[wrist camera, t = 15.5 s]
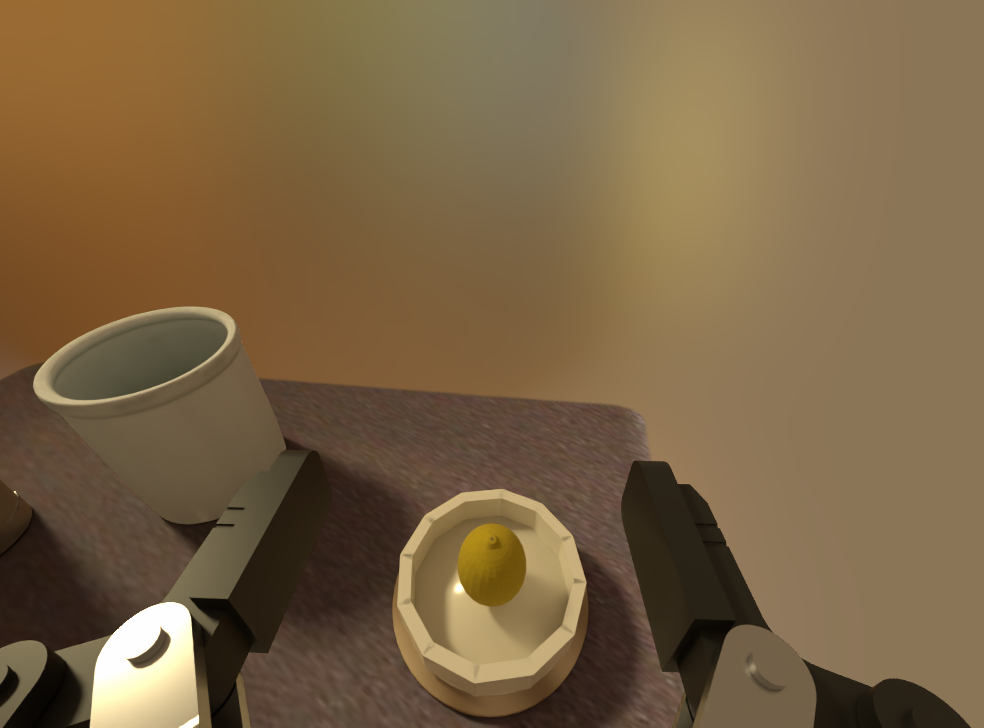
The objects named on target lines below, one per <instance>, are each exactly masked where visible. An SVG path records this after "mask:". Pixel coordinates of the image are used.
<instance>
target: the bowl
mask: <svg viewBox="0 0 984 728" xmlns="http://www.w3.org/2000/svg"><path fill="white" fill-rule="evenodd" d="M490 523H493V524H500V525H503V526H505V527H507V528H509V529H510V530H511V531H512V532H513V533H514V534H515V535H516V536H517V537H518V538H519V540H520V542H521V544H522V546H523V549H524V552H525V556H526V575H525V579H524V583H523V585H522V587H521V589H520V590H519V592H518V593H517V594H516V596H515V597H514V598H513V599H512V600H510V601H509V602H507V603H506V604H503V605H500V606H492V607H488V606H484V605H481V604H479V603H477V602H475V601H474V600H473V599H472V598H471V597H470V596H469V595H468V594H467V593H466V592H465V590H464V588H463V587H462V585H461V582H460V578H459V575H458V556H459V552H460V548H461V546H462V544H463V542H464V540H465V538H466V537H467V536H468V535H469V534H470V532H471V531H473V530H474V529H475V528H477V527H479V526H481V525H484V524H490ZM586 583H587V582H586V579H585V576H584V572H583V569H582V565H581V562H580V559H579V555H578V552H577V549H576V545H575V542H574V538H573V535H572V534H571V533H570V532H569V531H568V530H567V529H566V528H565V527H564V526H563V525H562V524H561V523H560V522H559V521H558V520H557V519H556V518H555V517H554V516H553V515H552V514H551V512H550V511H549V510H548V509H547V508H546V507H545V506H544V505H543V504H542V503H539V502H537V501H534V500H531V499H528V498H526V497H523V496H520V495H518V494H515V493H512V492H509V491H507V490H504V489H497V490H487V491H476V492H466V493H460V494H459V495H457V496H456V497H454V498H452V499H451V500H449V501H447V502H446V503H444V504H442V505H441V506H439V507H437V508H436V509H434V510H433V511H431V512H429V513H428V514H426V515H425V516H424V517H423V519H422V521H421V522H420V524H419V525H418V527H417V529H416V530H415V532H414V533H413V535H412V537H411V538H410V540H409V541H408V543H407V545H406V546H405V548H404V549H403V551H402V553H401V554H400V567H399V583H398V599H397V607H398V610H399V614H400V617H401V620H402V623H403V625H404V627H405V629H406V631H407V633H408V635H409V637H410V639H411V641H412V643H413V646H414V648H415V650H416V652H417V653H418V655H419V657H420V658H421V660H422V662H423V664H424V666H425V668H426V670H428V671H429V672H431V673H433V674H435V675H436V676H437V677H438V678H439V679H440V680H442V681H443V682H445V683H446V684H448V685H449V686H451V687H453V688H455V689H457V690H460V691H462V692H465V693H468V694H471V695H473V696H475V697H477V696H485V697H495V696H505V695H509V694H513V693H517V692H519V691H522V690H525V689H530V688H531V687H532V686H533V685H534V684H535V683H537V682H538V681H540V680H541V679H542V678H543V677H544V676H546V675H547V674H548V673H549V672H550V671H551V670H552V669H553V667H554V666H555V665H556V664H557V663H558V662H559V660H560V659H561V658H562V657H563V656H564V655H565V654H566V653H567V652H568V651H569V649H570V646H571V644H572V641H573V638H574V635H575V631H576V626H577V622H578V618H579V613H580V609H581V605H582V600H583V596H584V592H585V587H586Z"/></svg>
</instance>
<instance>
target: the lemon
mask: <svg viewBox="0 0 984 728" xmlns="http://www.w3.org/2000/svg"><path fill="white" fill-rule="evenodd" d="M458 575H459V578H460V582H461V585H462V587H463V588H464V590H465V592H466V593H467V594H468V595H469V596H470V597H471V598H472V599H473V600H474V601H475V602H477V603H479V604H481V605H484V606H488V607H492V606H500V605H503V604H506V603H507V602H509V601H510V600H512V599H513V598H514V597H515V596H516V594H517V593H518V592H519V590H520V589H521V587H522V585H523V583H524V579H525V575H526V556H525V552H524V549H523V546H522V544H521V542H520V540H519V538H518V537H517V536H516V535H515V534H514V533H513V532H512V531H511V530H510V529H509V528H507V527H505V526H503V525H500V524H493V523H490V524H484V525H481V526H479V527H477V528H475V529H474V530H473V531H471V532H470V534H469V535H468V536H467V537H466V538H465V540H464V542H463V544H462V546H461V548H460V552H459V556H458Z"/></svg>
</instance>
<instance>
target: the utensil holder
mask: <svg viewBox="0 0 984 728" xmlns="http://www.w3.org/2000/svg"><path fill="white" fill-rule="evenodd" d="M33 388H34V391H35V393H36V395H37V397H38V398H39V399H40V400H41V401H42V402H43V403H44V404H45V405H46V406H47V407H49V408H50V409H52V410H53V411H55V412H57V413H60V414H61V415H62V416H63V418H64V419H65V420H66V421H67V422H68V423H69V424H70V425H71V426H72V427H73V428H74V429H75V431H76V432H77V433H78V434H79V435H80V436H81V437H82V438H83V439H84V440H85V441H86V442H87V443H88V444H89V445H90V446H91V447H92V448H93V449H94V450H95V451H96V453H97V454H98V455H99V456H100V457H101V458H102V459H103V460H104V461H105V462H106V463H107V464H108V465H109V466H110V467H111V468H112V469H113V470H114V472H115V473H116V474H117V475H118V476H119V477H120V478H121V479H122V480H123V481H124V482H125V483H126V484H127V485H128V486H129V487H130V488H131V489H132V490H133V491H134V492H135V493H136V494H137V495H138V496H139V497H140V498H141V499H143V500H144V501H145V502H146V503H147V504H148V505H149V506H150V507H151V508H152V509H153V510H154V511H155V512H156V513H157V514H158V515H159V516H161V517H162V518H164V519H165V520H168V521H170V522H174V523H178V524H197V523H203V522H208V521H212V520H216V519H219V518H220V517H221V516H222V514H223V513H224V511H227V507H228V505H229V504H230V502H231V501H232V499H233V498H234V496H235V495H236V493H237V492H238V490H239V489H240V487H242V486H243V485H244V484H245V483H246V482H247V481H249V480H250V479H251V478H252V477H253V476H254V475H256V474H257V473H258V472H259V471H269V470H270V468H271V466H272V465H273V463H274V462H275V460H276V458H277V457H278V455H279V454H280V453H281V452H282V451H284V450H286V445H285V442H284V439H283V436H282V434H281V431H280V428H279V426H278V423H277V421H276V418H275V416H274V413H273V411H272V408H271V406H270V404H269V402H268V399H267V397H266V395H265V393H264V391H263V388H262V386H261V384H260V382H259V379H258V377H257V375H256V373H255V370H254V368H253V366H252V364H251V362H250V360H249V357H248V355H247V353H246V351H245V349H244V347H243V344H242V343H241V334H240V331H239V328H238V326H237V324H236V322H235V321H234V320H233V318H231V317H230V316H229V315H227V314H226V313H224V312H222V311H219V310H215V309H210V308H203V307H175V308H168V309H161V310H155V311H150V312H146V313H141V314H137V315H134V316H130V317H127V318H124V319H121V320H118V321H115V322H112V323H109V324H107V325H104V326H102V327H100V328H97V329H95V330H93V331H91V332H89V333H87V334H85V335H83V336H81V337H79V338H77V339H75V340H74V341H72V342H70V343H69V344H67V345H66V346H64V347H63V348H62V349H60V350H59V351H58V352H56V353H55V354H54V355H53V356H52V357H51V358H50V359H48V360H47V361H46V362H45V363H44V364H43V366H42V367H41V368H40V369H39V371H38V372H37V374H36V376H35V379H34V384H33Z"/></svg>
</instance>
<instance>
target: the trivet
mask: <svg viewBox="0 0 984 728" xmlns="http://www.w3.org/2000/svg"><path fill="white" fill-rule="evenodd" d="M398 583H399V573H398V576H397V580H396V584H395V587H394V595H393V624H394V631H395V635H396V639H397V643H398V646H399V649H400V651H401V654H402V656H403V659H404V661H405V663H406V665H407V666H408V668H409V670H410V672H411V673H412V675H413V676H414V677H415V679H416V680H417V681H418V683H419V684H420V685H421V686H422V687H423V688H424V689H425V690H426V691H427V692H428V693H429V694H430V695H431V696H432V697H434V698H435V699H436V700H438V701H439V702H441V703H442V704H444V705H445V706H447V707H450V708H452V709H454V710H456V711H458V712H461V713H465V714H468V715H472V716H478V717H488V718H491V717H505V716H509V715H513V714H517V713H520V712H523V711H525V710H527V709H530V708H532V707H534V706H535V705H537V704H539V703H540V702H542V701H543V700H545V699H546V698H547V697H549V696H550V695H551V694H552V693H553V692H554V691H555V690H556V689H558V687H559V686H560V685H561V684H562V683H563V681H564V680H565V679H566V678H567V676H568V675H569V673H570V671H571V670H572V668H573V666H574V665H575V663H576V660H577V658H578V656H579V654H580V651H581V649H582V646H583V642H584V639H585V635H586V631H587V624H588V595H587V589H586V587H585V592H584V596H583V600H582V605H581V609H580V613H579V618H578V622H577V626H576V631H575V635H574V638H573V641H572V644H571V646H570V649H569V651H568V652H567V653H566V654H565V655H564V656H563V657H562V658H561V659H560V660H559V662H558V663H557V664H556V665H555V666H554V667H553V669H552V670H551V671H550V672H549V673H548V674H547V675H546V676H544V677H543V678H542V679H541V680H540V681H538V682H537V683H535V684H534V685H533V686H532V687H531V688H530V689H525V690H522V691H519V692H517V693H513V694H509V695H505V696H495V697H485V696H477V697H475V696H473V695H471V694H468V693H465V692H462V691H460V690H457V689H455V688H453V687H451V686H449V685H448V684H446V683H445V682H443V681H442V680H440V679H439V678H438V677H437V676H436V675H435V674H433V673H431V672H429V671H428V670H426V668H425V666H424V664H423V662H422V660H421V658H420V657H419V655H418V653H417V652H416V650H415V648H414V646H413V643H412V641H411V639H410V637H409V635H408V633H407V631H406V629H405V627H404V625H403V623H402V620H401V617H400V614H399V610H398V607H397V599H398Z"/></svg>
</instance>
